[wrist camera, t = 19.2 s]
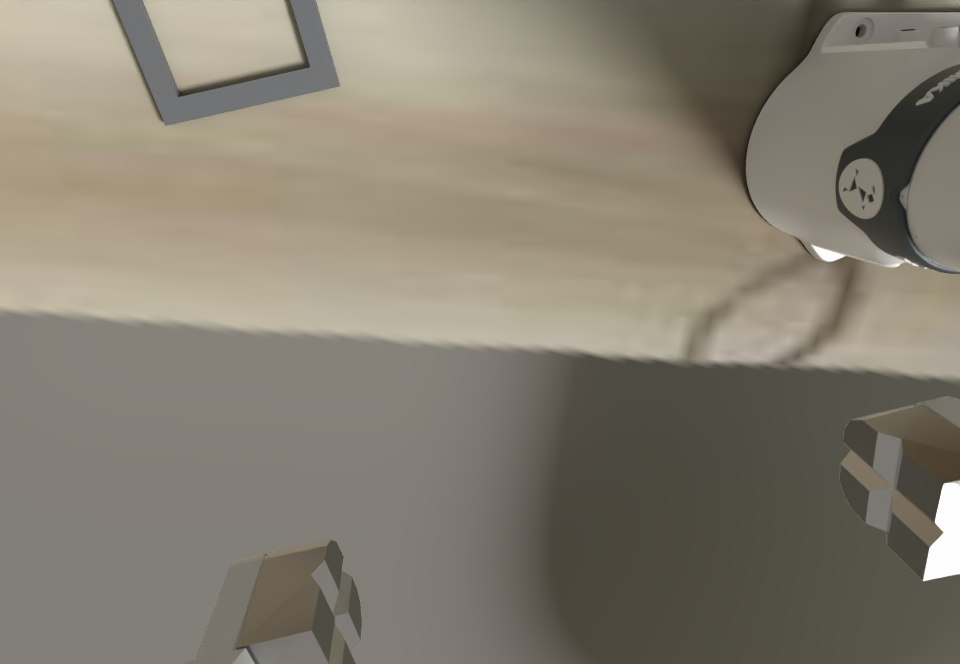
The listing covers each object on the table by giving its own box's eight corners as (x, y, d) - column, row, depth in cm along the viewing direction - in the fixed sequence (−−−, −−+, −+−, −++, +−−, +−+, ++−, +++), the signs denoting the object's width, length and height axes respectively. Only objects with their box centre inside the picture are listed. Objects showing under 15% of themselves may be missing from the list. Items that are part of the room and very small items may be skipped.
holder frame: (279, -128, 34) (277, -131, 34) (340, 86, 39) (339, 86, 39) (81, -85, 34) (75, -87, 33) (168, 125, 39) (165, 125, 38)
